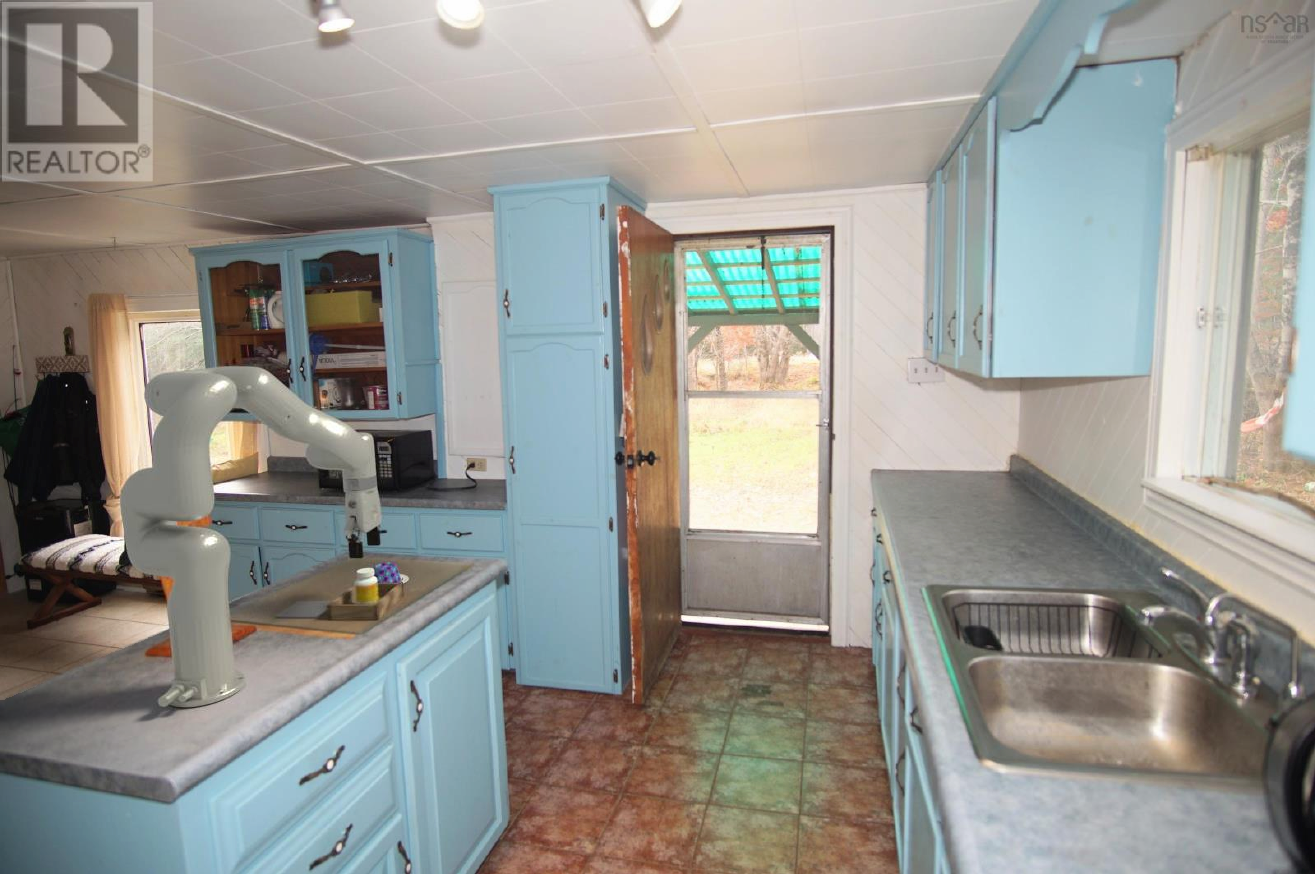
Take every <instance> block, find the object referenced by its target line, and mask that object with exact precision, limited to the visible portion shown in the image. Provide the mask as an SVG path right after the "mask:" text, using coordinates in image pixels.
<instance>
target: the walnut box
mask: <svg viewBox="0 0 1315 874" xmlns="http://www.w3.org/2000/svg"><path fill="white" fill-rule="evenodd" d="M404 589H405V588H404V583H401V582H399V583H378V597H379V601H378V602H377V603H376V604H375V605H374V604H355V588H354V585H352V586H351V587H350V588H348V589H347V590H346V591H344V592H343V593H342V594H340V595H339V596H337V597H336V598H335V599H334V600H332V601H333V602H331V603H330V604H329V605H327V611H326V614H327V621H379V620H380V619H381V618H382V617H383V616H384V615H385V614H386V613H387V612H388V611H389V610H391V609H392V608H393V607H394V606H395V605H396V604H397V603H398V602H399V601H400V600H401V599H402V598H403V597H404V596H405V590H404ZM402 596H403V597H402ZM398 600H399V601H398ZM397 601H398V602H397ZM396 602H397V603H396ZM393 605H394V606H393ZM392 606H393V607H392ZM383 614H384V615H383ZM382 615H383V616H382ZM378 619H379V620H378Z"/></svg>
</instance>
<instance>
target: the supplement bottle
mask: <svg viewBox="0 0 1315 874" xmlns="http://www.w3.org/2000/svg"><path fill="white" fill-rule="evenodd" d="M373 568H374V567H365V568H360V569H358V570H357V571H356V579H355V580H354V582H353V583H354V584H353V586H354V588H355V602H354V604H374V605H375V604H376V603H377V602H378V601H379V600H380V597H378V580H377V578H376V577H375V576H374V569H373Z"/></svg>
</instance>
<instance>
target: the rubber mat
mask: <svg viewBox="0 0 1315 874" xmlns="http://www.w3.org/2000/svg"><path fill="white" fill-rule="evenodd" d="M333 601H334V600H298V601H296V602H294V603H293V604H292V605H291V606H289V607H288V608H286V609H285V610H283V611H282V612H280V613H279V614H277V615H276V616H275V618H276V619H318V618H320V617H321V616H323V614H325V613H327V605H329V604H330V603H331V602H333Z"/></svg>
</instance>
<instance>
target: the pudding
mask: <svg viewBox="0 0 1315 874" xmlns="http://www.w3.org/2000/svg"><path fill="white" fill-rule="evenodd" d="M372 568H373V569H374V576H375V577H376V578H377V580H378V583H401V582H403V584H405V583H407V582H408V581H409V578H410V577H409V576H408V575H406V574H403V573H402V574H401V573H400V571H399V568H398V566H397V564H396V563H394V562H380V563H378V564H375V565H374V566H373V567H372ZM402 578H403V580H402Z"/></svg>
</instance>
